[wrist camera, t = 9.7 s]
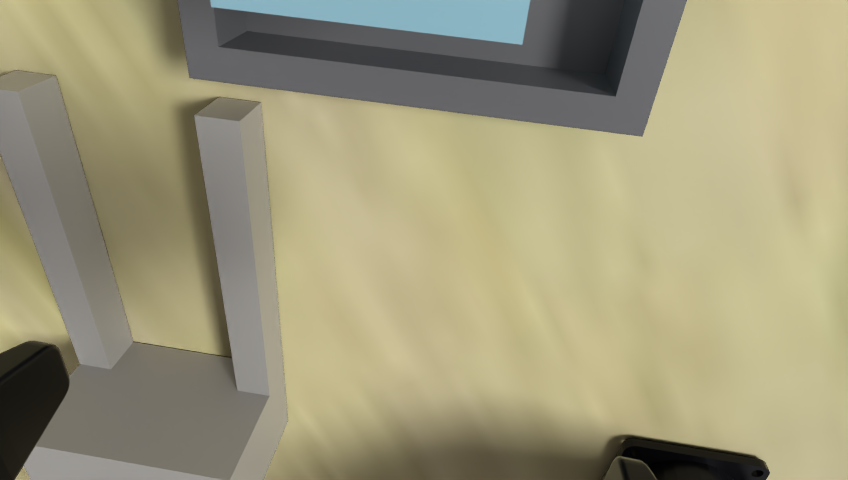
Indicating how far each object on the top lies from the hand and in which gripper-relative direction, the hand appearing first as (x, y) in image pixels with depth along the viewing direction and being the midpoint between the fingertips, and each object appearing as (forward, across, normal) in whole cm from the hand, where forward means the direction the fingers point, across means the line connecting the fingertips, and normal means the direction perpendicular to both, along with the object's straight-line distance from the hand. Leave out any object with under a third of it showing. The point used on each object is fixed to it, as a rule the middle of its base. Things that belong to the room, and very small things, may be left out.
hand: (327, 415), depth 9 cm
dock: (+12, +10, +9) cm, 18 cm away
